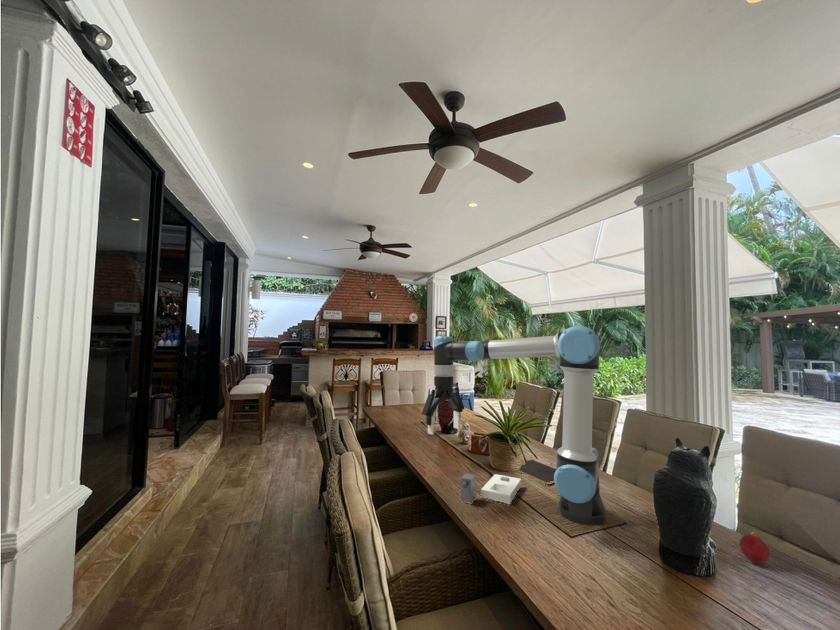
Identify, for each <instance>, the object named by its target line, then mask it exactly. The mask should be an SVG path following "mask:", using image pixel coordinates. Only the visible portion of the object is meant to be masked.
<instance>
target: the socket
mask: <svg viewBox="0 0 840 630" xmlns="http://www.w3.org/2000/svg"><path fill="white" fill-rule="evenodd" d="M520 486H521V487H522V478H519V477H512V476H508V475H502V474H496V473H495V474H493V476H492V477H491V478H489V480H488V481H487V482H486V483H485V484H484V485H483V486H482V487H481V488H480V498H481V497H483V498H488V499H492V500H495V501H500V502H504V503H507V504H510V503H511V502H512V500H513V498H514V497H515V495H516V493H517V491H518V489H519V488H520ZM516 496H517V495H516ZM515 498H516V497H515ZM515 498H514V499H515ZM513 501H514V500H513ZM512 503H513V502H512ZM512 503H511V504H512Z"/></svg>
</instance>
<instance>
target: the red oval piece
mask: <svg viewBox="0 0 840 630" xmlns="http://www.w3.org/2000/svg"><path fill="white" fill-rule="evenodd" d="M739 548H740V550H741V552H742V554H743V555H744V557H746V558H747V559H748V560H749V561H751V562H752V563H753V564H756V565H758V564H761V563H765V562H767V561H768V560H769V558H770V554H771V552H770V549H769V547H768V546H767V544H766V543H765V542H764V541H763V540H762V539H761V538H760V537H759V536H758V533H756V532H755V531H752V532H750V533H749V534H746V535H744V536H743V537H741V539H740V540H739Z"/></svg>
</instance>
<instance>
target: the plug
mask: <svg viewBox="0 0 840 630" xmlns="http://www.w3.org/2000/svg"><path fill="white" fill-rule="evenodd" d="M476 479H477V477H476V474H471V473H465V474H463V475H462V476H461V477H460V501H461V500H462V501H466V502H470V503H472V501H473V500H474V499H475V498H476V499H477V483H476V481H477V480H476Z"/></svg>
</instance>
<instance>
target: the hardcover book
mask: <svg viewBox="0 0 840 630" xmlns="http://www.w3.org/2000/svg"><path fill="white" fill-rule="evenodd" d="M526 461H527V463H526V464H525V465H522V466H521V468H520V469H519V470H520V471H522V472H524V473H526V474H528V475H530V476H532V477H534V478H537V479H539V480H542V481H544V482H546V483H547V482H550V481H554V474H555V471H556V468H555V467H553V466H549V465H548V464H544V463H542V462H539V461H536V460H534V459H529V460H526Z"/></svg>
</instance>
